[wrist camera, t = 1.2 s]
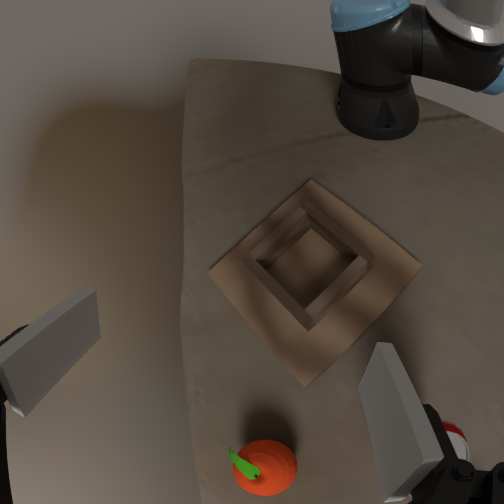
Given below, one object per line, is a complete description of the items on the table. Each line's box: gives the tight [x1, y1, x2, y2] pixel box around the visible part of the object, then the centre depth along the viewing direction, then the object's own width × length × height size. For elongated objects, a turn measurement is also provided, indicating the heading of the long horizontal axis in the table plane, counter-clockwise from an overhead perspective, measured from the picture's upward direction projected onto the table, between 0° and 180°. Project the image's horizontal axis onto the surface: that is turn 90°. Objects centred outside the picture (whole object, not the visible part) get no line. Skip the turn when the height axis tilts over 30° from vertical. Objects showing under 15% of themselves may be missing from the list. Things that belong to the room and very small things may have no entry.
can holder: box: [207, 179, 422, 388], centre depth 35 cm, size 20×20×5 cm
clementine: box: [229, 440, 297, 496], centre depth 26 cm, size 8×7×7 cm
